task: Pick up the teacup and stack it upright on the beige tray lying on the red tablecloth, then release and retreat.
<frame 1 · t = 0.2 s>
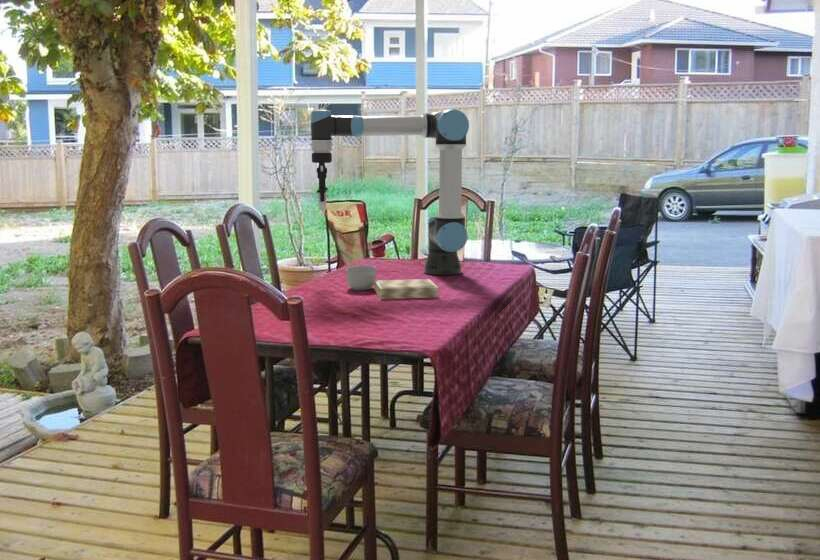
hand: (322, 209, 333), 28 cm above the table, fingers open, 13 cm apart
beige tray: (405, 293, 310), on the table
teacup: (362, 288, 321), on the table
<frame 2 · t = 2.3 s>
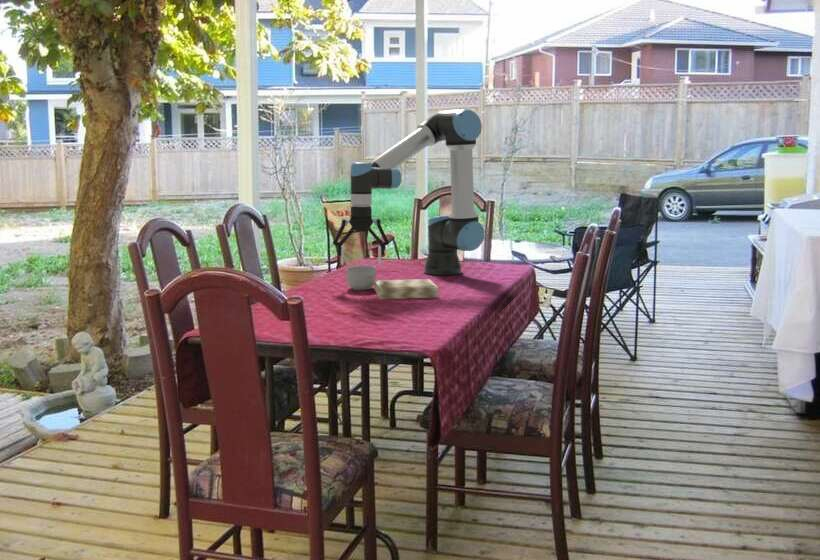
hand: (360, 264, 320), 9 cm above the table, fingers open, 13 cm apart
nothing on the table moved.
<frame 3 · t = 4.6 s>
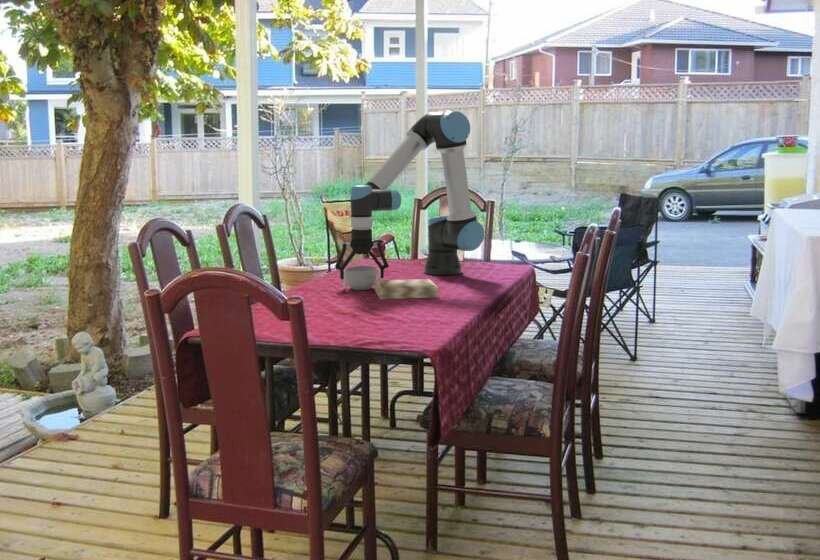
hand: (362, 287, 321), 0 cm above the table, fingers open, 12 cm apart
teacup: (362, 288, 321), on the table, touching gripper
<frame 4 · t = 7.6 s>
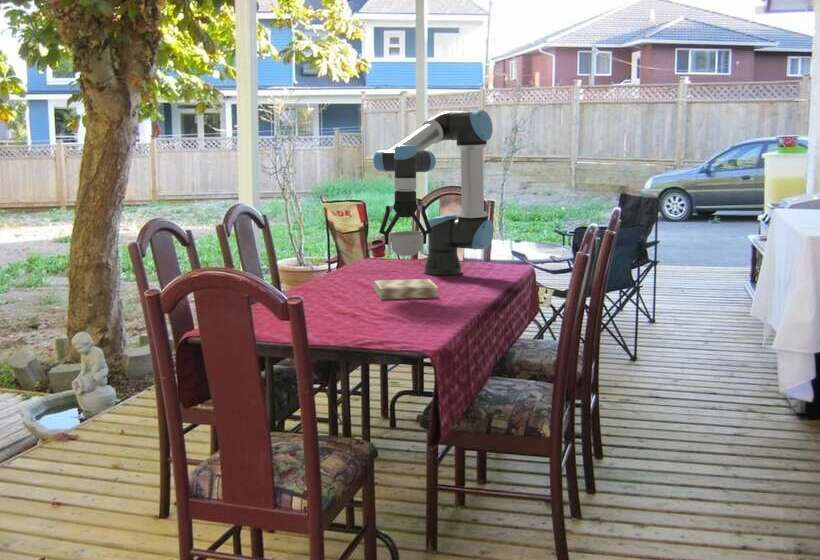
hand: (405, 253, 307), 14 cm above the table, fingers closed on teacup, 11 cm apart
teacup: (406, 255, 308), point 14 cm above the table, touching gripper
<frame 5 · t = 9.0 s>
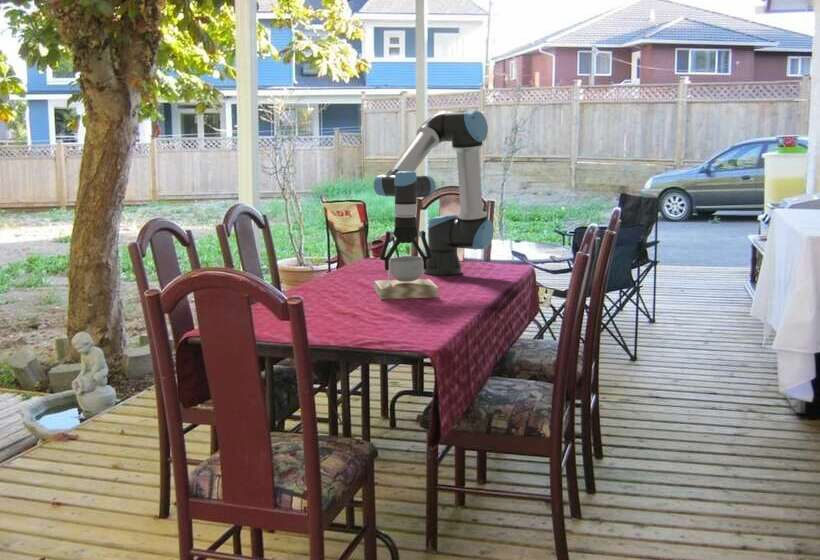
hand: (405, 279, 309), 5 cm above the table, fingers closed on teacup, 11 cm apart
teacup: (407, 280, 309), point 5 cm above the table, touching gripper
when the fingers open (5 cm above the table, at t = 10.2 s): teacup stays where it is, resting on beige tray.
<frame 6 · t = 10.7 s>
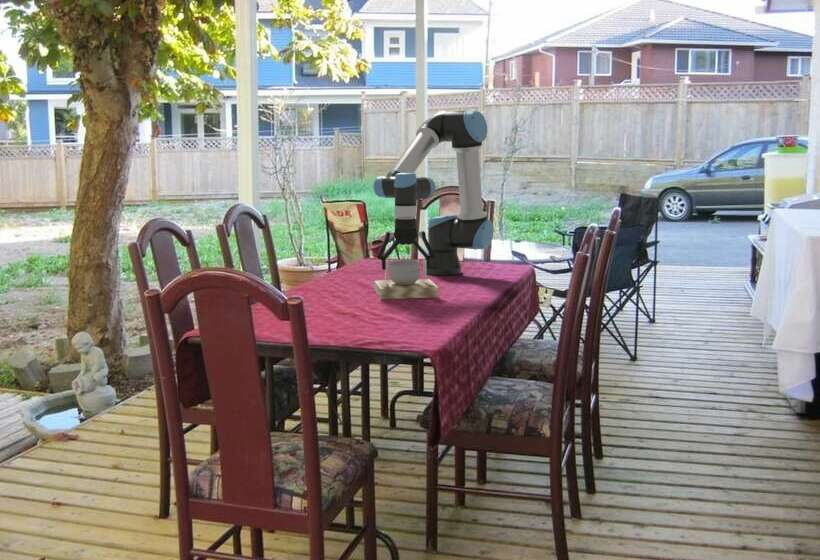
hand: (405, 278, 309), 5 cm above the table, fingers open, 13 cm apart
teacup: (405, 283, 309), point 3 cm above the table, touching beige tray
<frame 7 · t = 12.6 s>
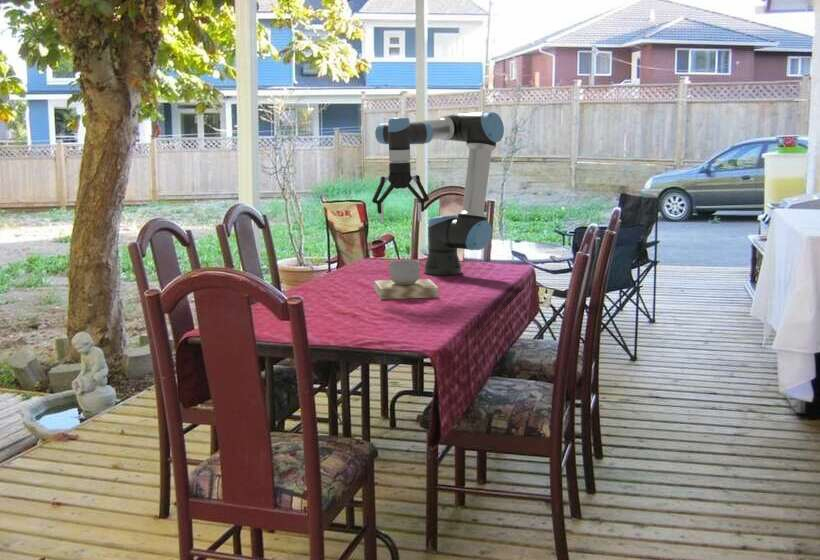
hand: (401, 222, 315), 24 cm above the table, fingers open, 13 cm apart
nothing on the table moved.
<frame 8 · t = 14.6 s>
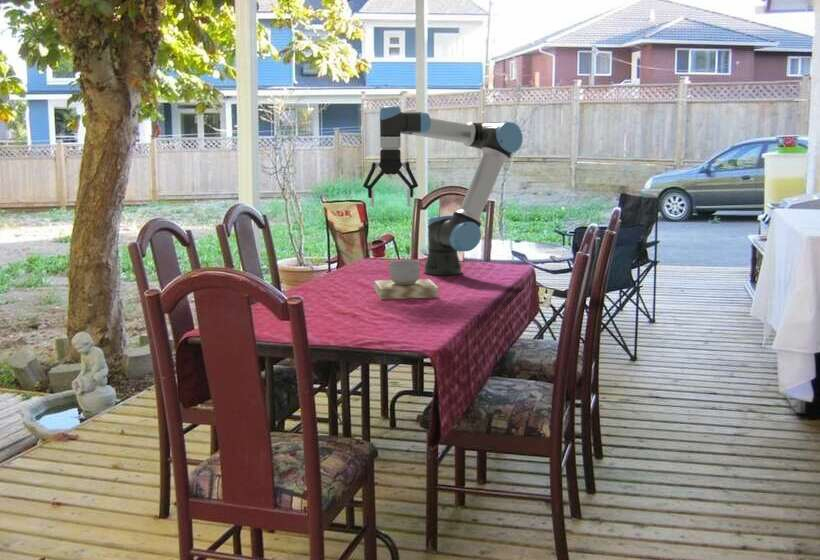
hand: (390, 206, 328), 29 cm above the table, fingers open, 13 cm apart
nothing on the table moved.
at the end: teacup inside the target area on the beige tray (0.1 cm from its centre), point 3.5 cm above the beige tray's base; teacup tilted 0°; the gripper is holding nothing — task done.
